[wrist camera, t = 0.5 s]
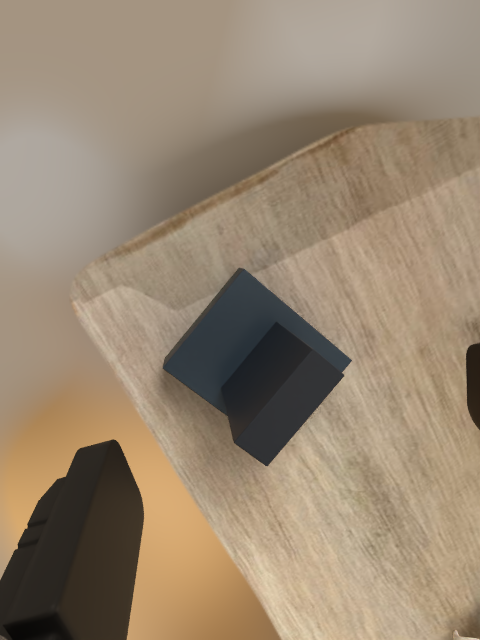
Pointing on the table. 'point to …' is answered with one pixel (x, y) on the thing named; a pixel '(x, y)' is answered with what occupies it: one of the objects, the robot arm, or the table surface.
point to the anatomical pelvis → (461, 639)
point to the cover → (257, 365)
